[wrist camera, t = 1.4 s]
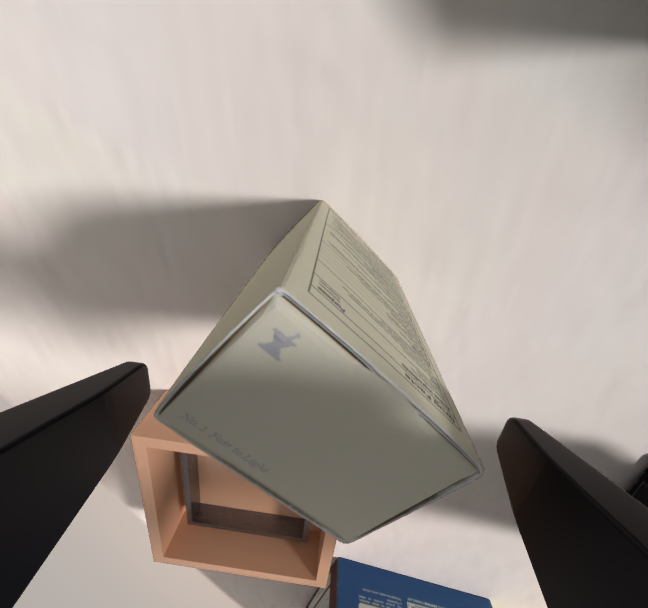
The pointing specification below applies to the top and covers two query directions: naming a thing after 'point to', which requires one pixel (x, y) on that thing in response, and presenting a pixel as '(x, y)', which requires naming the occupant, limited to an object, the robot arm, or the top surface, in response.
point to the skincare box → (325, 388)
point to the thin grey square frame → (235, 512)
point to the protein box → (386, 590)
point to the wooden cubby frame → (223, 490)
